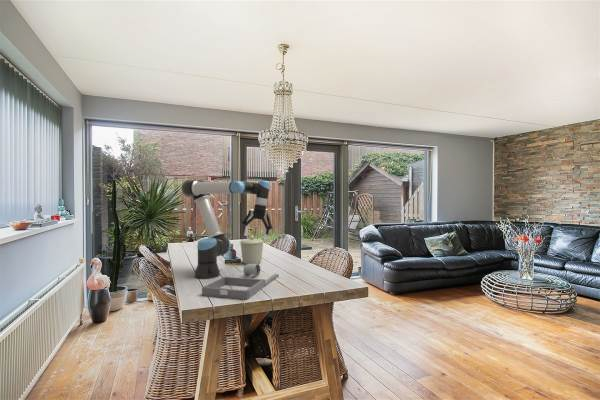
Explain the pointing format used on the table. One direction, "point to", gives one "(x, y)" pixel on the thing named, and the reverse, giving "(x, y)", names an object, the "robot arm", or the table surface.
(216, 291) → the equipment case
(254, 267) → the ceramic mug
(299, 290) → the table surface
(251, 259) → the canister
